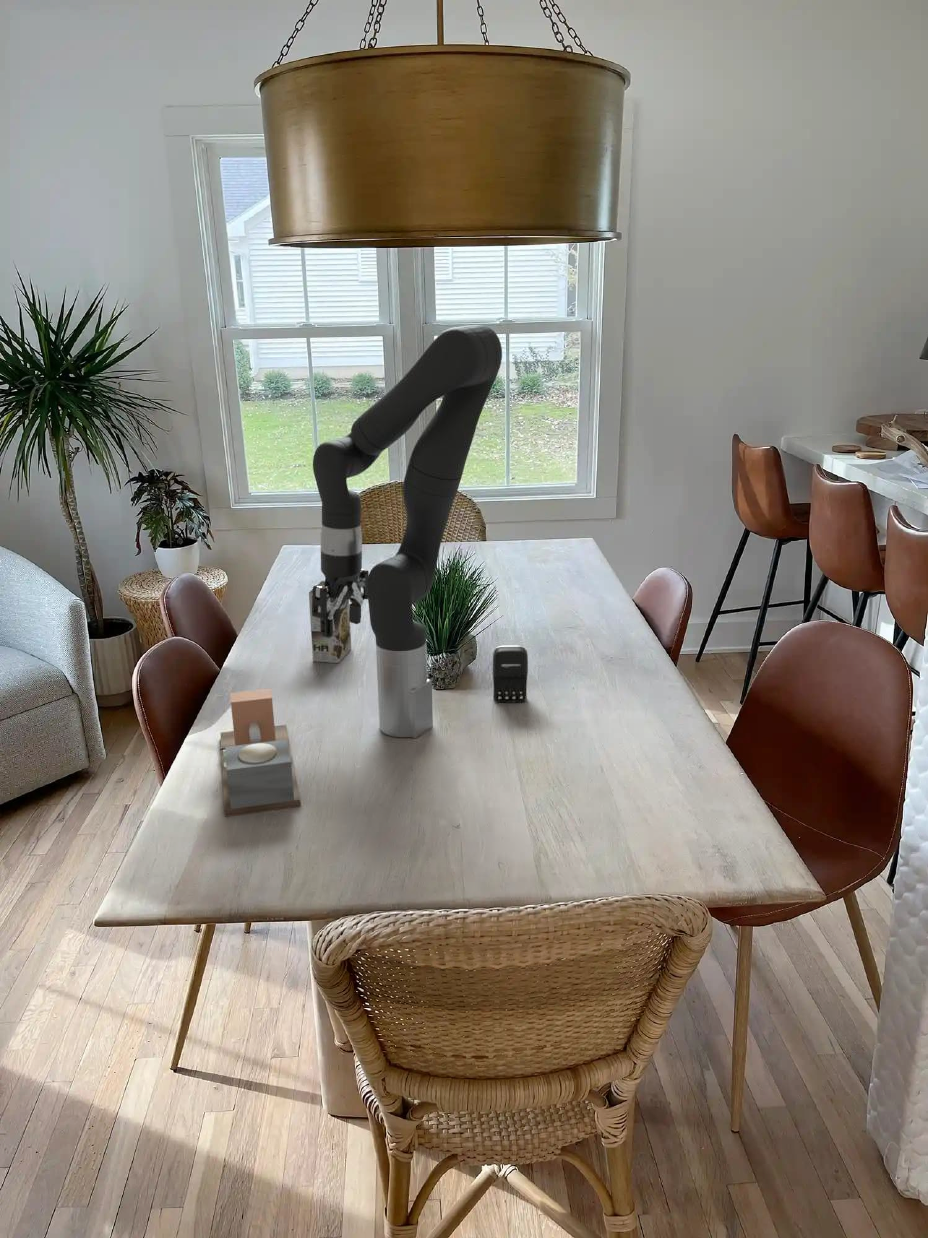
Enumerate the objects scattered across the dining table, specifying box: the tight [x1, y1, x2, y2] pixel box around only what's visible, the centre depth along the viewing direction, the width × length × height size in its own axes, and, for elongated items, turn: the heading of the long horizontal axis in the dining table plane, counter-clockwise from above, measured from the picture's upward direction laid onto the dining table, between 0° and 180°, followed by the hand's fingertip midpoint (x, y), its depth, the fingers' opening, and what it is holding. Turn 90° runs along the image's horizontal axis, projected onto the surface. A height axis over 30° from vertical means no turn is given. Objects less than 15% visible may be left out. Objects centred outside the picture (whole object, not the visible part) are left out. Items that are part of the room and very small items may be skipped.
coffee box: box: [308, 580, 352, 664], centre depth 215 cm, size 9×6×16 cm
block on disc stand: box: [219, 688, 276, 751], centre depth 170 cm, size 9×10×10 cm
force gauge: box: [220, 724, 302, 817], centre depth 168 cm, size 28×12×9 cm, turn 14°
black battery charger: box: [492, 644, 529, 704], centre depth 192 cm, size 7×4×11 cm, turn 90°
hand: (341, 629), depth 184 cm, fingers open, 8 cm apart
